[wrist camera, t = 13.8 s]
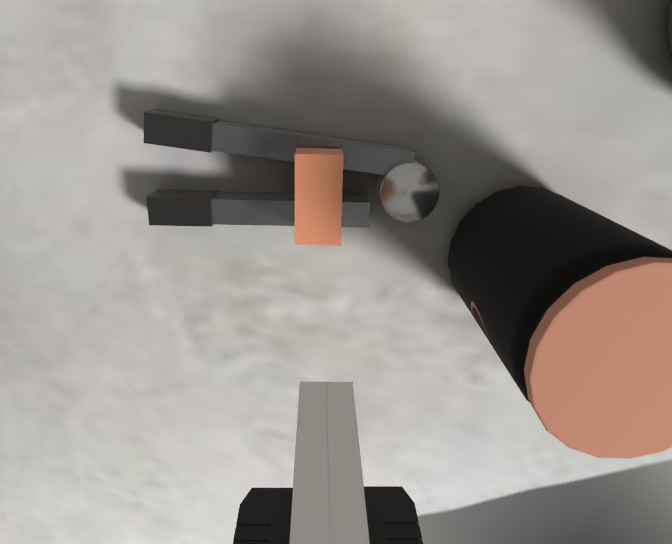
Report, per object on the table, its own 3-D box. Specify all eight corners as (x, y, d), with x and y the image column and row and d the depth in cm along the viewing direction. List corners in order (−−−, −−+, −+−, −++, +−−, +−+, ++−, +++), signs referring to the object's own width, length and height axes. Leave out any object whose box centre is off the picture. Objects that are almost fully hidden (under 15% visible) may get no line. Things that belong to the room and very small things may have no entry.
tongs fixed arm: (159, 215, 40) (149, 225, 38) (157, 189, 39) (146, 197, 37) (366, 220, 41) (369, 229, 38) (367, 194, 40) (370, 201, 38)
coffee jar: (418, 273, 42) (483, 404, 25) (498, 155, 39) (633, 216, 22) (524, 333, 44) (649, 491, 28) (607, 226, 41) (805, 330, 25)
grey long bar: (153, 177, 39) (140, 185, 36) (155, 109, 37) (141, 112, 34) (423, 214, 40) (432, 225, 37) (437, 150, 39) (447, 157, 36)
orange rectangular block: (296, 231, 38) (294, 244, 35) (296, 147, 35) (294, 153, 33) (338, 232, 38) (340, 245, 35) (341, 148, 36) (343, 155, 33)
